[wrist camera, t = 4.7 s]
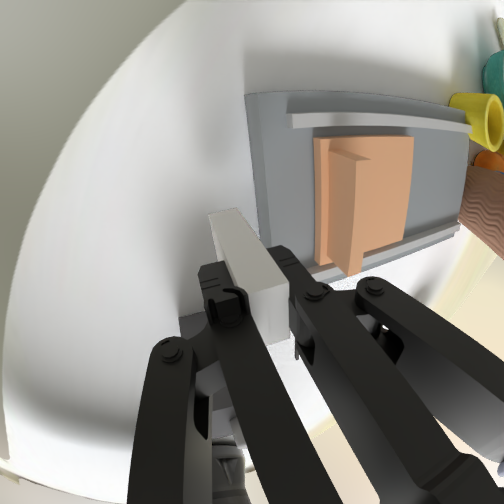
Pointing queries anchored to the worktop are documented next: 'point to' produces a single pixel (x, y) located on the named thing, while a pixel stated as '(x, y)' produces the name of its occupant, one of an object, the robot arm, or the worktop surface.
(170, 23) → the worktop surface
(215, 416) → the plug
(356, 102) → the socket board
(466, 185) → the coffee cup
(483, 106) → the toy juicer set
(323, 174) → the shutter
